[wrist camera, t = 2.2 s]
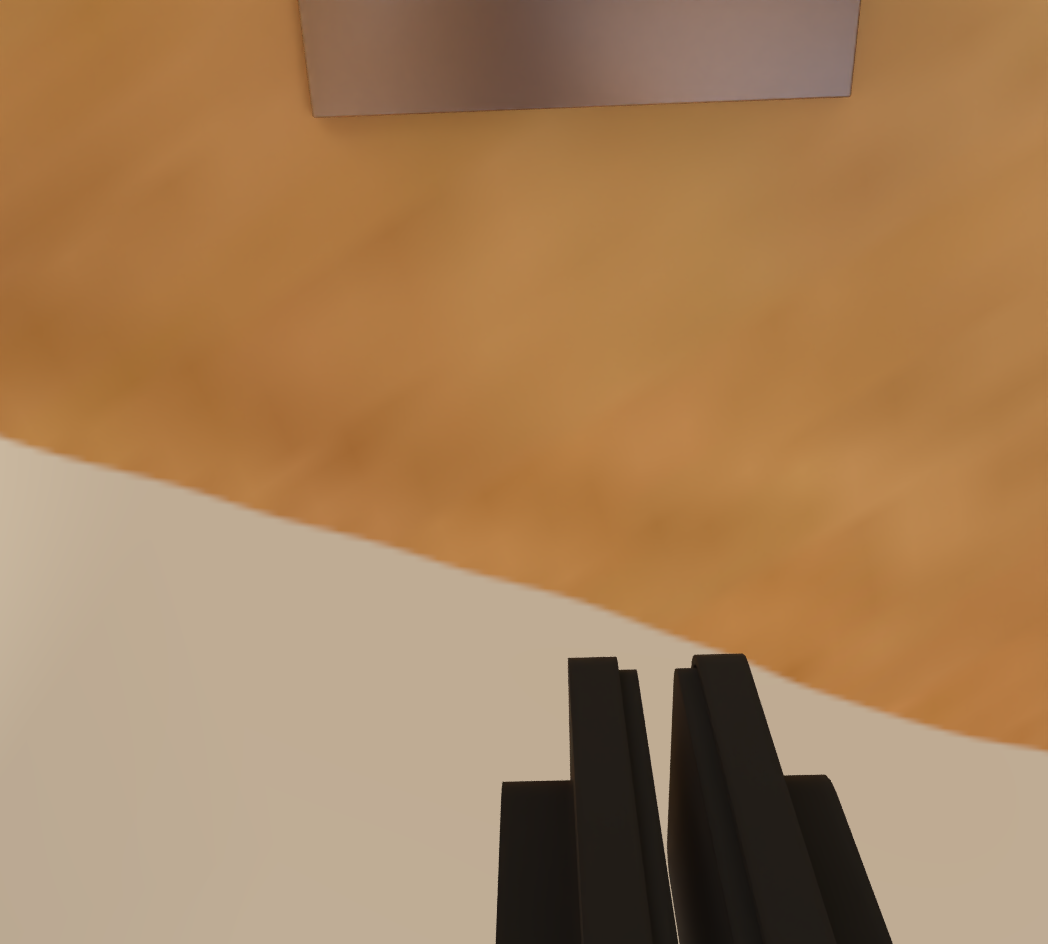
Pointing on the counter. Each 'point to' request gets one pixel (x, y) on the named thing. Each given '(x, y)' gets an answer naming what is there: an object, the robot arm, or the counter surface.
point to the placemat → (571, 53)
